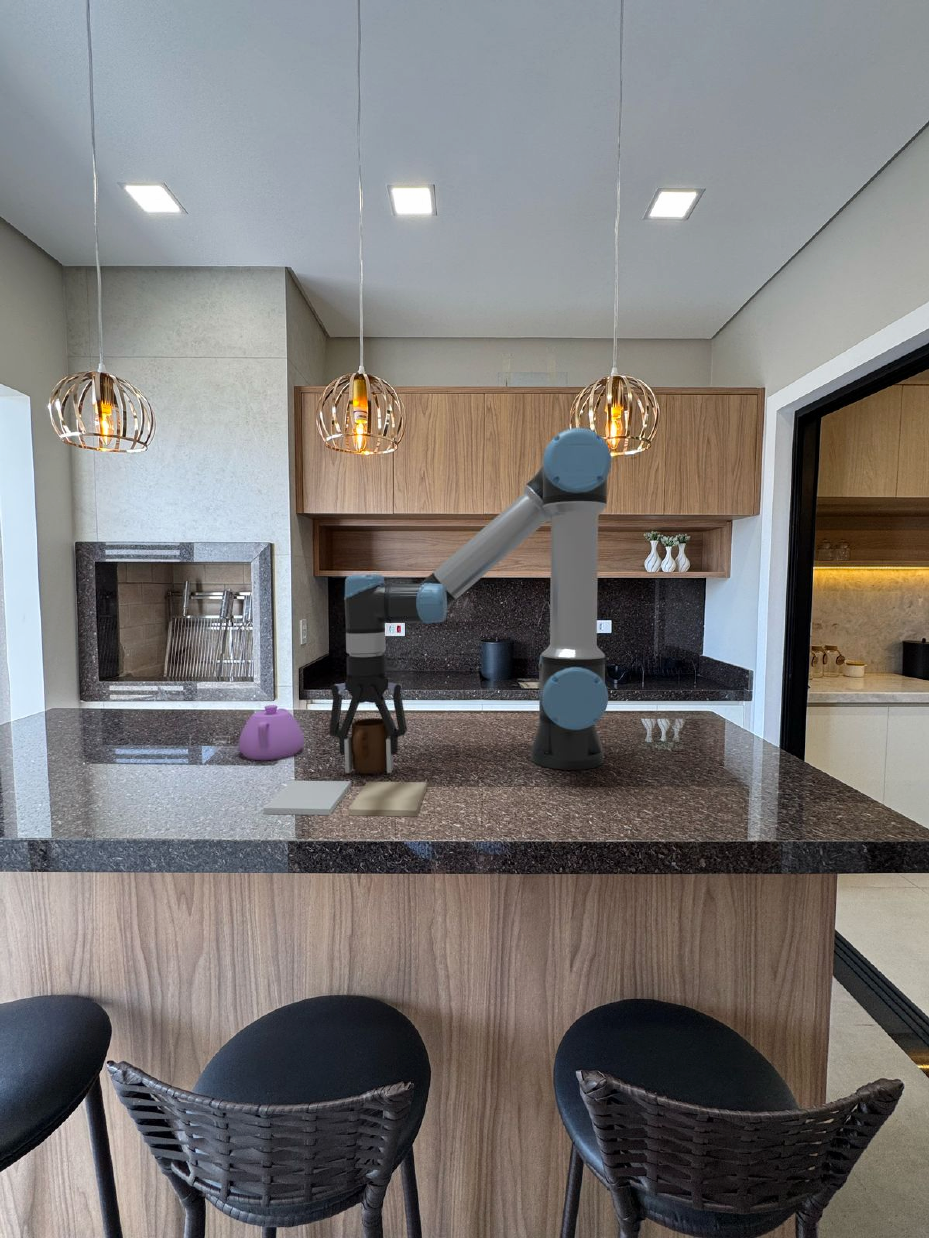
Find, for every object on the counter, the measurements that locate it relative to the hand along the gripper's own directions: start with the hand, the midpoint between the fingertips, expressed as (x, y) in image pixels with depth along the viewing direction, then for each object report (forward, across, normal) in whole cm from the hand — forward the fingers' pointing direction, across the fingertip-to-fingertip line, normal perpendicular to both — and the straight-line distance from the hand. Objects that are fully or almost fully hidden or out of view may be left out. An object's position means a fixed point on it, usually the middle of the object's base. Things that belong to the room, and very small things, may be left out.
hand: (369, 770), depth 119 cm
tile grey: (+1, +7, +14) cm, 16 cm away
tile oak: (+1, -7, +14) cm, 16 cm away
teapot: (+1, +25, -16) cm, 30 cm away
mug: (0, 0, 0) cm, 1 cm away
